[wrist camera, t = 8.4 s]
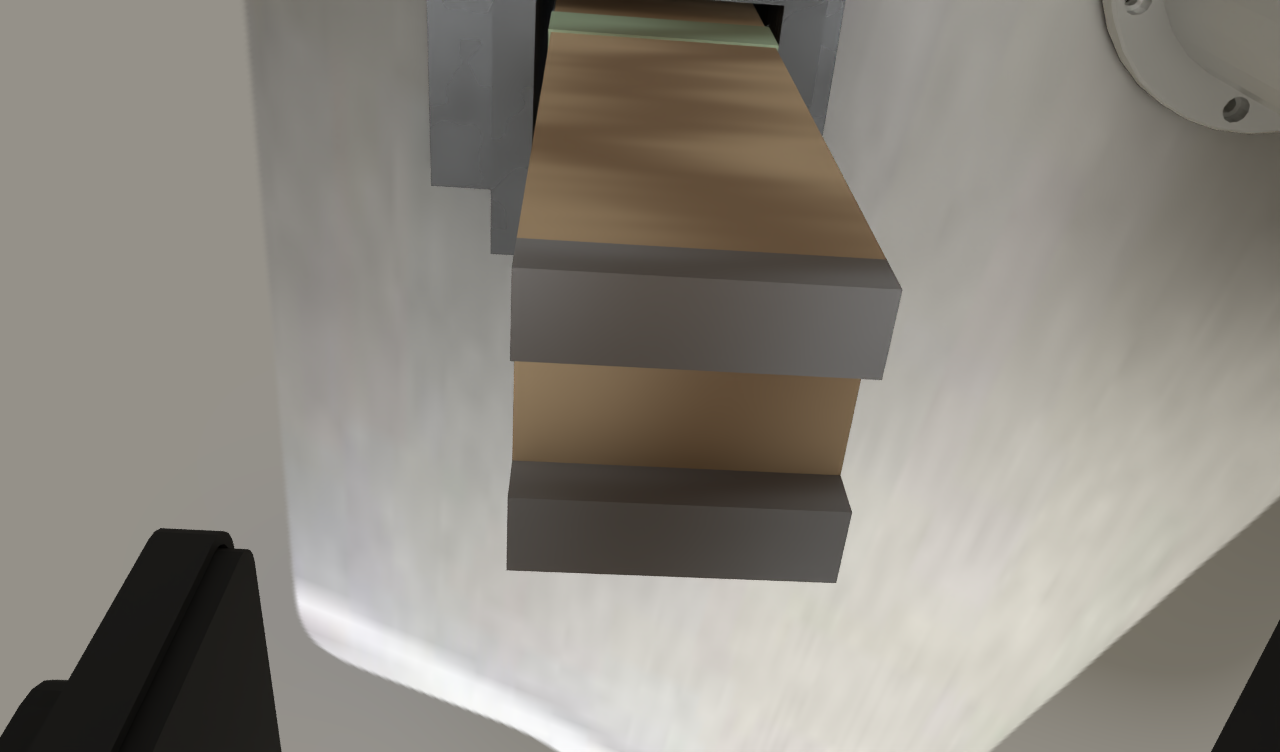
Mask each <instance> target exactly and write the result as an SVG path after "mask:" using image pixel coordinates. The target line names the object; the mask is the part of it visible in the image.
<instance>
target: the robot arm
mask: <svg viewBox="0 0 1280 752" xmlns="http://www.w3.org/2000/svg"><path fill="white" fill-rule="evenodd" d="M1102 2H1103V8H1104V13H1105V19H1106V25H1107V30H1108V32H1109V34H1110V37H1111V39H1112V42H1113V44H1114V46H1115V49H1116V51H1117V54H1118V56H1119V58H1120V60H1121V62H1122V63H1123V64H1124V66H1125V67H1126V68H1127V70H1128V71H1129V73H1130V74H1131V75H1132V77H1133V78H1134V79H1135V81H1136V82H1137V84H1138V85H1139V86H1141V87H1142V88H1143V89H1144V90H1145V91H1146V92H1148V93H1149V94H1150V95H1151V96H1152V97H1154V98H1155V99H1156V100H1157V101H1158V102H1160V103H1161V104H1162V105H1164V106H1165V107H1167V108H1169V109H1170V110H1172V111H1174V112H1175V113H1177V114H1178V115H1180V116H1182V117H1183V118H1185V119H1187V120H1189V121H1192V122H1195V123H1198V124H1201V125H1203V126H1206V127H1209V128H1212V129H1215V130H1220V131H1228V132H1236V133H1244V134H1259V133H1275V132H1280V0H1129V1H1128V2H1125V0H1102ZM1228 101H1229V103H1228ZM1227 103H1228V104H1227ZM1226 104H1227V105H1226ZM1225 105H1226V106H1225ZM0 752H281V746H280V738H279V731H278V724H277V717H276V710H275V703H274V696H273V689H272V682H271V674H270V667H269V660H268V653H267V646H266V639H265V632H264V625H263V618H262V611H261V603H260V596H259V590H258V582H257V575H256V568H255V561H254V557H253V554H252V552H251V551H250V550H248V549H234V545H233V541H232V538H231V536H230V535H229V533H227V532H224V531H206V530H186V529H165V528H160V529H159V530H157V531H155V532H154V533H153V535H152V536H151V537H150V538H149V540H148V542H147V543H146V545H145V547H144V549H143V550H142V552H141V554H140V556H139V557H138V559H137V561H136V563H135V564H134V566H133V568H132V570H131V571H130V573H129V575H128V577H127V578H126V580H125V582H124V584H123V586H122V587H121V589H120V591H119V592H118V594H117V596H116V598H115V599H114V601H113V603H112V605H111V607H110V608H109V610H108V612H107V613H106V615H105V617H104V619H103V620H102V622H101V624H100V626H99V627H98V629H97V631H96V633H95V634H94V636H93V638H92V639H91V641H90V643H89V645H88V646H87V648H86V650H85V652H84V654H83V655H82V657H81V659H80V661H79V662H78V664H77V666H76V667H75V669H74V671H73V673H72V674H71V676H70V678H69V680H46V681H43V682H42V683H40V684H39V685H37V686H36V687H35V688H33V689H32V690H31V691H30V693H29V694H28V695H27V696H26V698H25V699H24V700H23V702H22V703H21V704H20V706H19V707H18V709H17V711H16V712H15V714H14V716H13V717H12V719H11V721H10V722H9V724H8V725H7V727H6V729H5V730H4V732H3V734H2V735H1V737H0ZM1211 752H1280V620H1279V622H1278V624H1277V626H1276V628H1275V630H1274V632H1273V634H1272V636H1271V638H1270V640H1269V642H1268V644H1267V645H1266V647H1265V649H1264V651H1263V653H1262V655H1261V657H1260V659H1259V661H1258V663H1257V665H1256V667H1255V669H1254V671H1253V672H1252V674H1251V676H1250V678H1249V680H1248V682H1247V684H1246V686H1245V688H1244V690H1243V691H1242V693H1241V696H1240V697H1239V699H1238V701H1237V703H1236V705H1235V707H1234V709H1233V711H1232V713H1231V714H1230V717H1229V719H1228V720H1227V722H1226V724H1225V726H1224V728H1223V730H1222V732H1221V734H1220V736H1219V738H1218V740H1217V741H1216V743H1215V745H1214V747H1213V749H1212V751H1211Z"/></svg>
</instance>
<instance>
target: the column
mask: <svg viewBox="0 0 1280 752" xmlns="http://www.w3.org/2000/svg"><path fill="white" fill-rule="evenodd" d="M778 47H779V45H778V43H777V41H776V39H775V38H774V36H773V34H772V32H771V30H770V28H769V27H765V26H764V24H763V22H762V20H761V19H760V17H759V15H758V13H757V11H756V9H755V7H754V5H753V3H742V2H729V1H715V0H556V5H555V11H552V12H551V17H550V23H549V29H548V53H547V59H546V65H545V71H544V77H543V83H542V89H541V95H540V101H539V107H538V113H537V119H536V125H535V131H534V137H533V143H532V149H531V155H530V161H529V167H528V173H527V179H526V185H525V191H524V197H523V203H522V209H521V215H520V221H519V227H518V233H517V239H516V245H515V251H514V257H513V263H512V282H511V341H510V361H514V402H513V453H512V467H511V476H510V484H509V492H508V515H507V570H513V571H539V572H565V573H591V574H617V575H642V576H668V577H694V578H720V579H746V580H771V581H797V582H823V583H836V581H837V577H838V572H839V568H840V563H841V559H842V555H843V550H844V546H845V541H846V537H847V532H848V528H849V524H850V519H851V515H852V511H851V508H850V505H849V501H848V498H847V495H846V492H845V489H844V485H843V482H842V479H841V476H840V475H841V470H842V465H843V460H844V456H845V451H846V446H847V442H848V437H849V432H850V428H851V423H852V418H853V414H854V409H855V404H856V400H857V395H858V390H859V386H860V381H861V379H872V380H882V377H883V373H884V369H885V364H886V360H887V355H888V351H889V346H890V342H891V338H892V333H893V329H894V324H895V320H896V315H897V311H898V307H899V302H900V298H901V293H902V288H901V286H900V284H899V282H898V281H897V279H896V277H895V275H894V273H893V271H892V269H891V267H890V265H889V263H888V261H887V259H886V258H885V256H884V254H883V252H882V250H881V248H880V246H879V244H878V242H877V240H876V238H875V237H874V235H873V233H872V231H871V229H870V227H869V225H868V223H867V221H866V219H865V217H864V216H863V214H862V212H861V210H860V208H859V206H858V204H857V202H856V200H855V198H854V196H853V194H852V193H851V191H850V189H849V187H848V185H847V183H846V181H845V179H844V177H843V175H842V173H841V172H840V170H839V168H838V166H837V164H836V162H835V160H834V158H833V156H832V154H831V152H830V150H829V149H828V147H827V145H826V143H825V141H824V139H823V137H822V135H821V133H820V131H819V129H818V128H817V126H816V124H815V122H814V120H813V118H812V116H811V114H810V112H809V110H808V108H807V106H806V105H805V103H804V101H803V99H802V97H801V95H800V93H799V91H798V89H797V87H796V85H795V84H794V82H793V80H792V78H791V76H790V74H789V72H788V70H787V68H786V66H785V64H784V63H783V61H782V59H781V57H780V55H779V53H778Z"/></svg>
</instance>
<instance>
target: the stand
mask: <svg viewBox="0 0 1280 752" xmlns="http://www.w3.org/2000/svg"><path fill="white" fill-rule="evenodd" d="M715 1H729V2H742V3H753V5H754V7H755V9H756V11H757V13H758V15H759V17H760V19H761V20H762V22H763V24H764V26H765V27H769V28H770V30H771V32H772V34H773V36H774V38H775V39H776V41H777V43H778V45H779V47H778V53H779V55H780V57H781V59H782V61H783V63H784V64H785V66H786V68H787V70H788V72H789V74H790V76H791V78H792V80H793V82H794V84H795V85H796V87H797V89H798V91H799V93H800V95H801V97H802V99H803V101H804V103H805V105H806V106H807V108H808V110H809V112H810V114H811V116H812V118H813V120H814V122H815V124H816V126H817V128H818V129H819V131H820V133H821V135H823V129H824V124H825V118H826V112H827V106H828V100H829V94H830V88H831V82H832V76H833V70H834V64H835V59H836V53H837V47H838V41H839V35H840V29H841V23H842V17H843V11H844V5H845V0H715ZM555 5H556V0H427V29H428V70H429V111H430V153H431V186H445V187H461V188H478V189H491V254H504V255H514V251H515V245H516V239H517V233H518V227H519V221H520V215H521V209H522V203H523V197H524V191H525V185H526V179H527V173H528V167H529V161H530V155H531V149H532V143H533V137H534V131H535V125H536V119H537V113H538V107H539V101H540V95H541V89H542V83H543V77H544V71H545V65H546V59H547V53H548V29H549V23H550V17H551V12H552V11H555Z"/></svg>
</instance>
